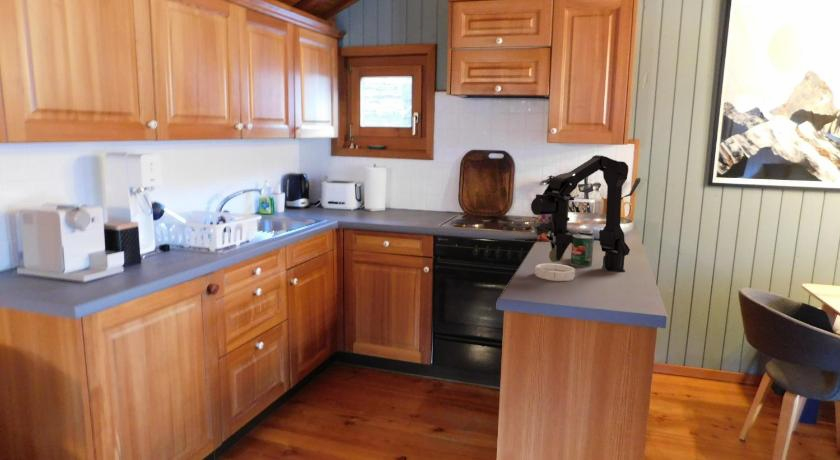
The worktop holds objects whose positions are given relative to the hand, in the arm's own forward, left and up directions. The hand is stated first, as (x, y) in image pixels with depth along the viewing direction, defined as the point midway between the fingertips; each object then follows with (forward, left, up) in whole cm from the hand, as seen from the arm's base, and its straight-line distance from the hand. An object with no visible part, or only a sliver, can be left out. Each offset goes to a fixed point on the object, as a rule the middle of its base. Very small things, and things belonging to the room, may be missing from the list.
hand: (556, 258), depth 198 cm
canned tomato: (-15, -20, -6) cm, 26 cm away
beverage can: (-19, -30, -6) cm, 36 cm away
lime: (0, 0, -1) cm, 1 cm away
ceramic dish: (0, 0, -6) cm, 6 cm away
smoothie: (-13, -70, -6) cm, 71 cm away
